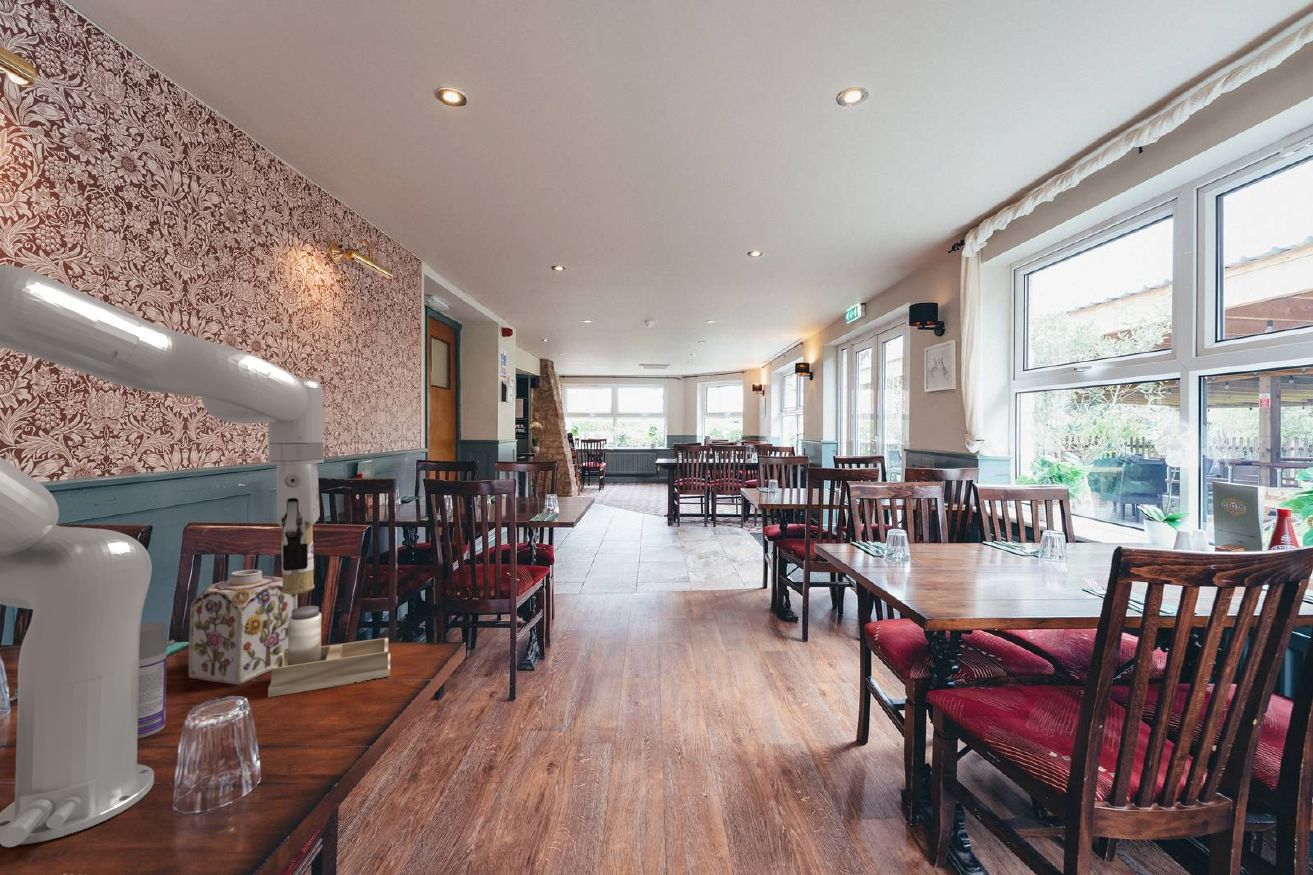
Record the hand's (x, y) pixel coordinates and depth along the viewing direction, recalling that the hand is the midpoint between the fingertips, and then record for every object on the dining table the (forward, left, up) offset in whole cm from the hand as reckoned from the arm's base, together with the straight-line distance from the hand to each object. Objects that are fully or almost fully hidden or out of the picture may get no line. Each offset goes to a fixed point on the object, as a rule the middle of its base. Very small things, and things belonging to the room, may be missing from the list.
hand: (297, 564), depth 88 cm
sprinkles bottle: (0, 0, -5) cm, 5 cm away
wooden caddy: (+7, -5, -22) cm, 23 cm away
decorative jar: (+18, +10, -22) cm, 30 cm away
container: (-2, +18, -22) cm, 29 cm away
